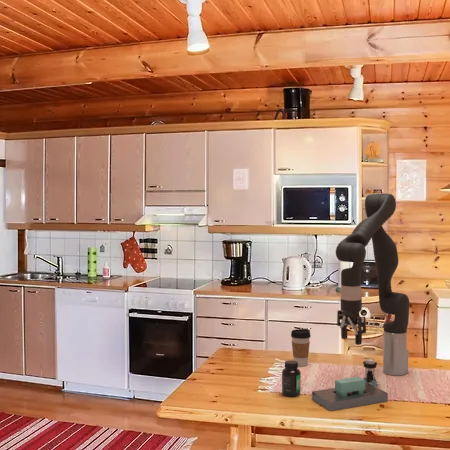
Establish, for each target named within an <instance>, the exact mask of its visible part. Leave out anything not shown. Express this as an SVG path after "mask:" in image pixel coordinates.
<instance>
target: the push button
mask: <svg viewBox="0 0 450 450" xmlns="http://www.w3.org/2000/svg"><path fill="white" fill-rule="evenodd" d="M362 364H363V367H364V368H365V369H364V370H365V371H364V372H365V374H364V377H362V379H364V380H365V383H368V384H370V385H373V386H375V387H377V386H381V381H377V379H376V377H375V375H376V373H375V371H376V369H377V365H378V362H376V360H375V359H372V358H366V359H365V361H363V362H362Z"/></svg>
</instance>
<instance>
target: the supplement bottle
mask: <svg viewBox="0 0 450 450" xmlns="http://www.w3.org/2000/svg"><path fill="white" fill-rule="evenodd" d="M301 374H302V373H301V370H300V369H299V366H298V362H297V361H294V360H285V362H284V368H283V369H282V370H281V394H282V395H283V396H285V397H286V398H287V397H288V398H296V396H297V397H299V396H300V395H301V387H302V386H301V385H302V384H301V383H302V382H301V381H302V379H301V376H302V375H301Z"/></svg>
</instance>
